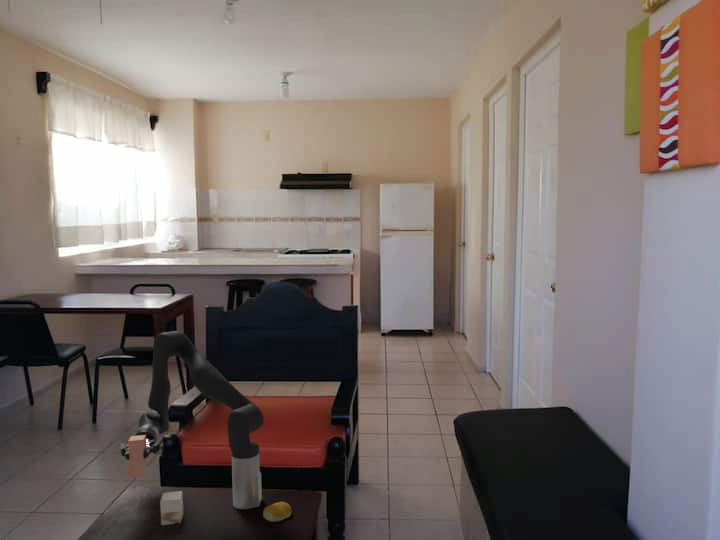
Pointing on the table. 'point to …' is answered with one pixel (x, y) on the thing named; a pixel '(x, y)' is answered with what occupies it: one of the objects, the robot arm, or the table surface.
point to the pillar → (137, 456)
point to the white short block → (171, 502)
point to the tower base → (172, 517)
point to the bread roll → (277, 511)
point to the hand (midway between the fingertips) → (136, 456)
